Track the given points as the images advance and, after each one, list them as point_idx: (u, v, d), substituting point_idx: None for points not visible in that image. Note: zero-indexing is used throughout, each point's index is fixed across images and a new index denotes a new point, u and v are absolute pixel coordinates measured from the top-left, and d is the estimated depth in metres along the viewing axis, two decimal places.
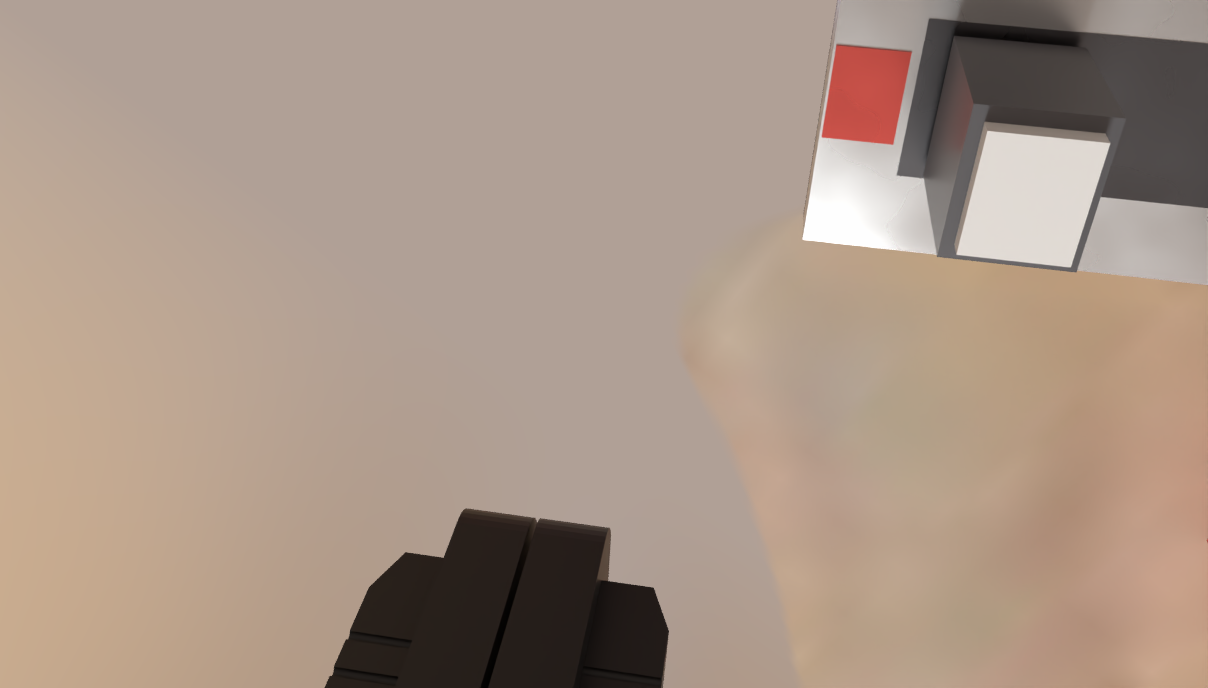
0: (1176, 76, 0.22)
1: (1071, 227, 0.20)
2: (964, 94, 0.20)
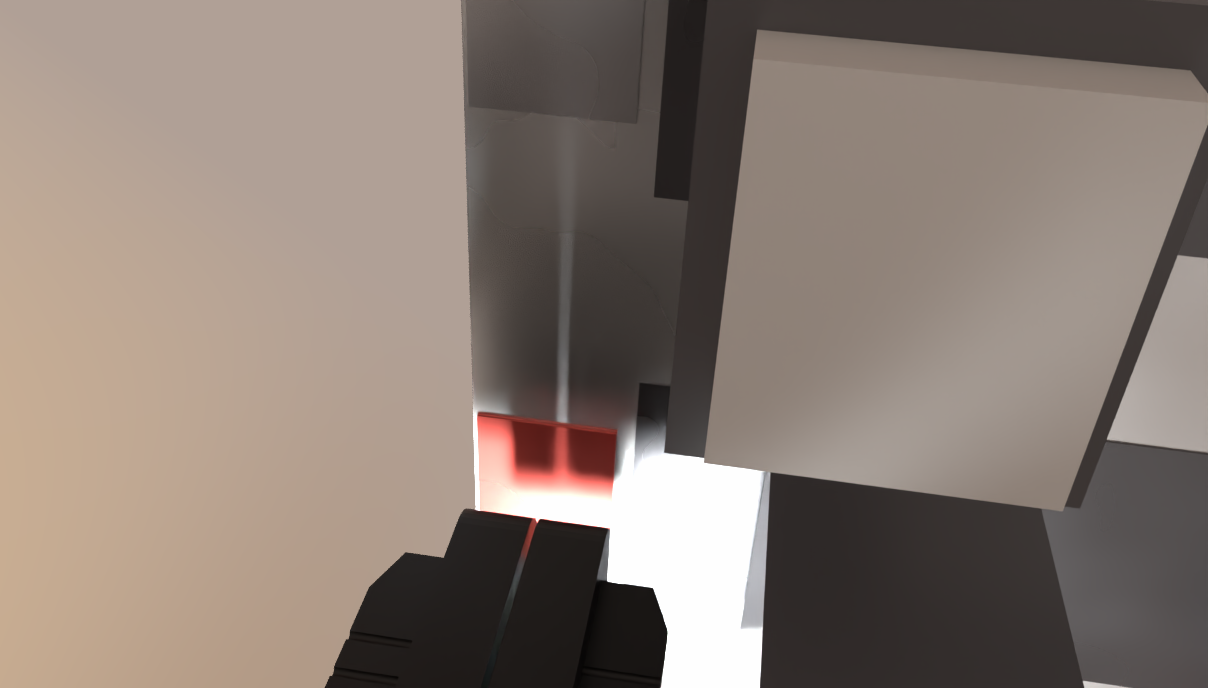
0: (1118, 498, 0.11)
1: None
2: (759, 641, 0.09)
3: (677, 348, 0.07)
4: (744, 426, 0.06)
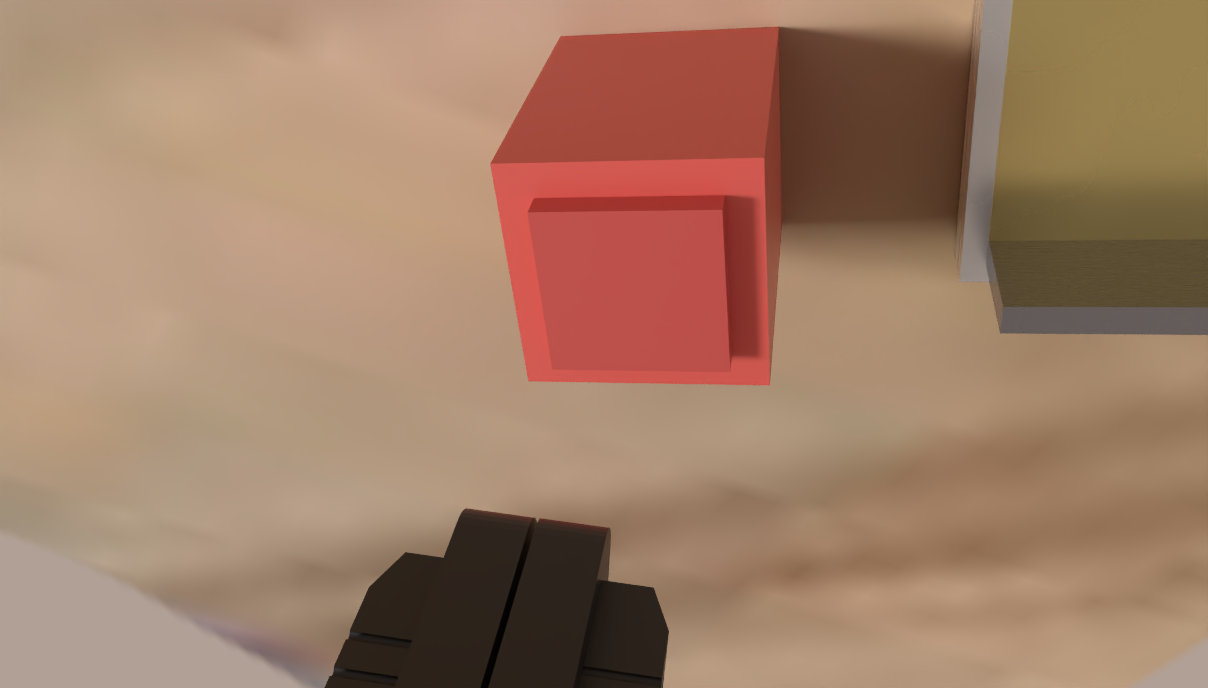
0: None
1: None
2: None
3: None
4: None
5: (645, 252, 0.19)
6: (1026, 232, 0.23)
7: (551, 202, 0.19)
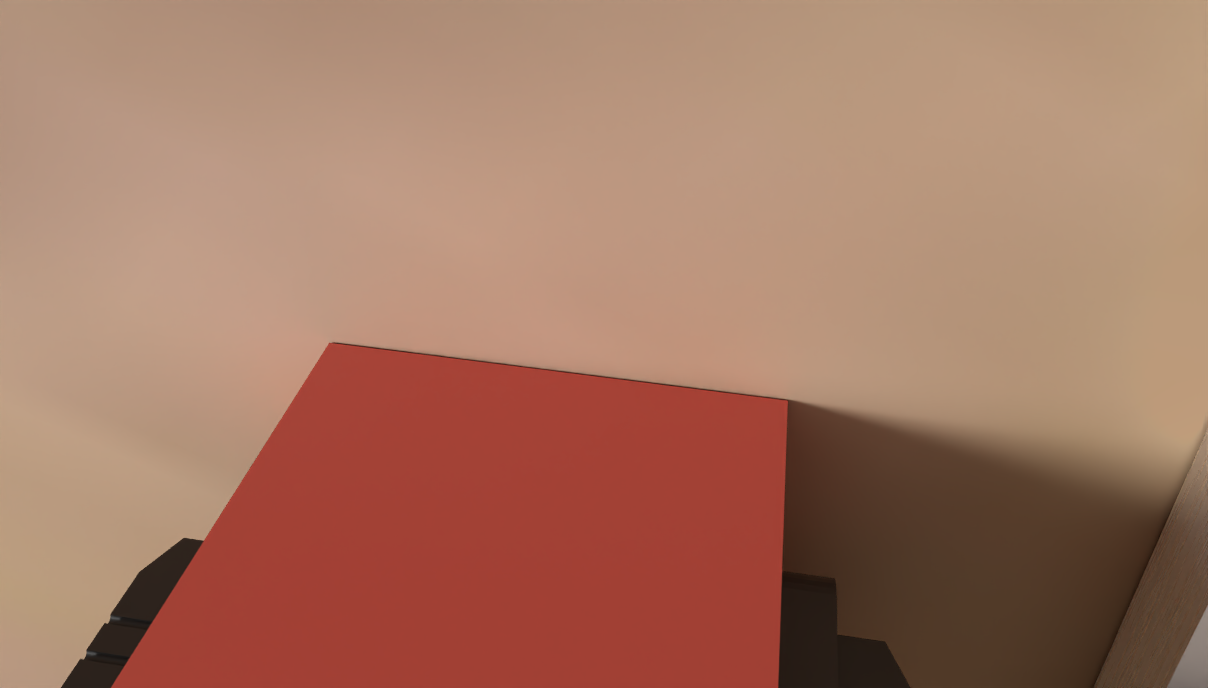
0: None
1: None
2: None
3: None
4: None
5: None
6: None
7: None
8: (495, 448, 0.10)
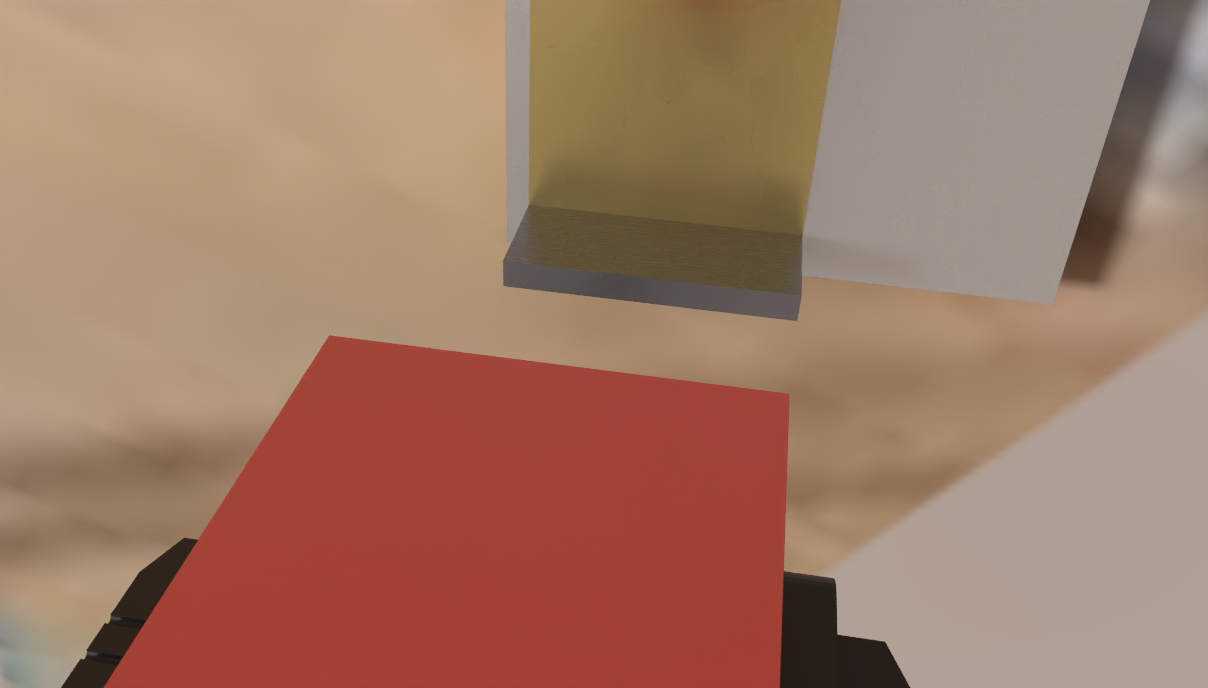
0: None
1: None
2: None
3: None
4: None
5: None
6: (560, 200, 0.25)
7: None
8: (495, 441, 0.10)
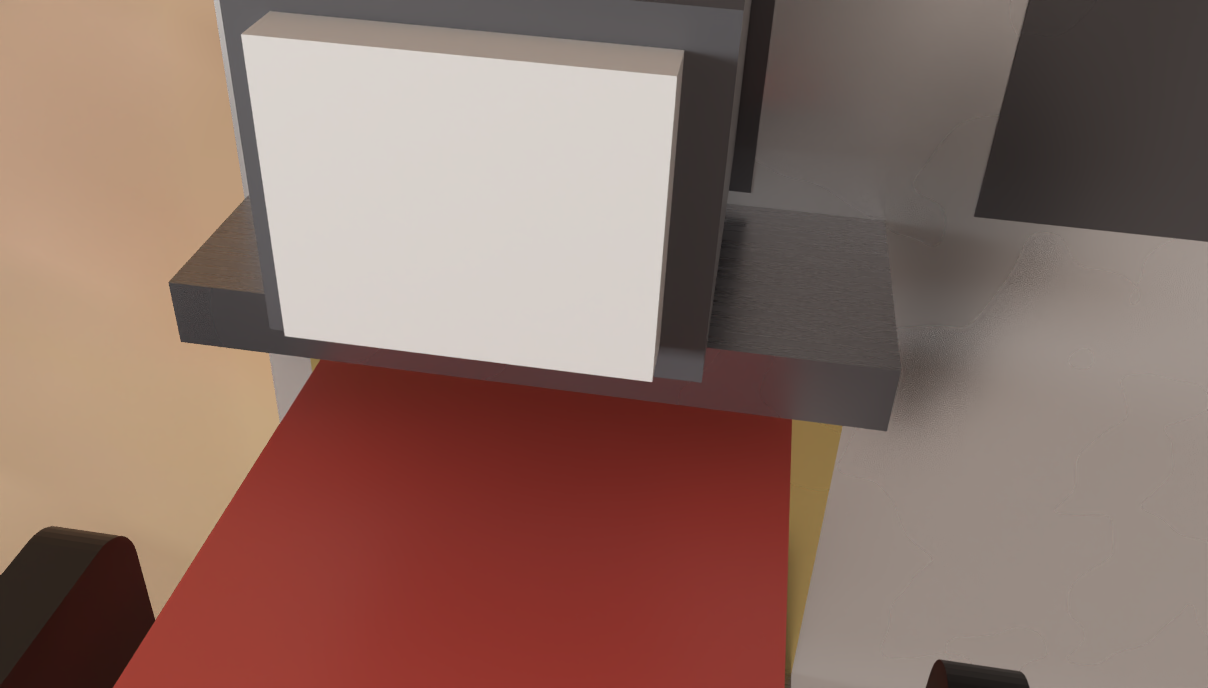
0: None
1: (400, 325, 0.07)
2: None
3: None
4: None
5: None
6: None
7: None
8: None
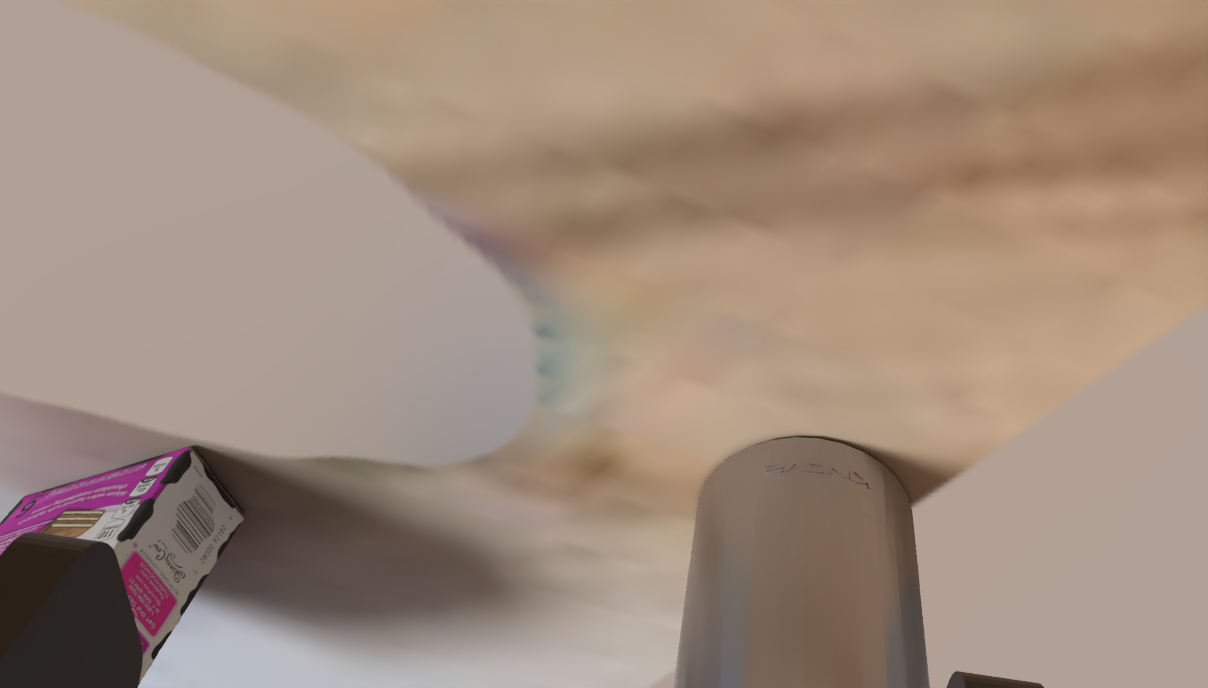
0: None
1: None
2: None
3: None
4: None
5: None
6: None
7: None
8: None
